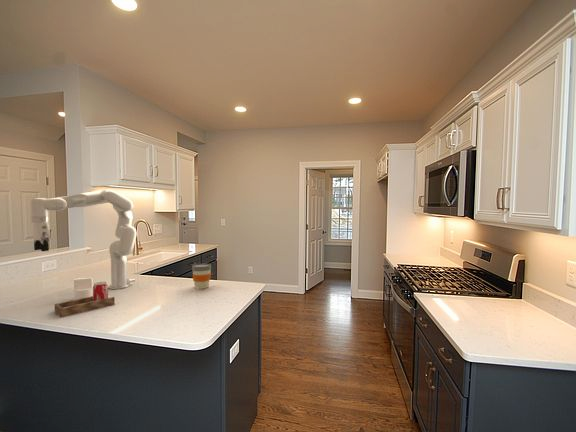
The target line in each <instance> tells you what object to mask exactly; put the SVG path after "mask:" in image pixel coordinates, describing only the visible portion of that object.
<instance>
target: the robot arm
mask: <svg viewBox="0 0 576 432" xmlns="http://www.w3.org/2000/svg"><path fill="white" fill-rule="evenodd" d="M101 204H103V205H104V204H111V206H112V208H113V210H114V211H115V212H116V213H117V215H118V220H117V224H116V229H115V233H114V235H115V237H116V238H118V239H119V240H115V241H113V242H111V243H110V245H109V250H108V251H109V255H110V277H111V278H110V281H111V283H110V285H108V290H120V289H125V288H127V287H130V286H131V283H134V282H136V279H135V278H128V258H127V256H129V255H130V254H132V252H133V251H134V248H135V244H136V239H137V229H136V228H135V226H132V224H133V212H132V210H133V208H134V203H133V201H132V200H131V199H130V198H128V197H126V196H124V195H122V194H121V193H119V192H118V191H115V190H113V189H103V190H101V189H100V190H95V191H89V192H88V191H87V192H82V193H77V194H71V195H65V196H57V197H51V198H46V197H34V198H31V199H30V219H31V224H32V237H33V247H34V249H33V250H34V251H39V250H40V251H41V252H49V249H50V248H49V247H50V246H49V243H50V242H49V241H50V240H51V229H50V211H53V212H61V211H64V210H65V209H71V208H87V207H92V206H96V205H101Z"/></svg>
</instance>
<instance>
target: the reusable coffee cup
mask: <svg viewBox="0 0 576 432" xmlns="http://www.w3.org/2000/svg"><path fill="white" fill-rule="evenodd" d="M191 266H192V268H191V271H192V280H193V283H194V288H195V289H196V288H198V289H197V290H204V289H207V287H208V288H209V286H210V280H211V275H212V273H211V270H212V264H210V263H196V264H193V265H191ZM203 288H204V289H203Z"/></svg>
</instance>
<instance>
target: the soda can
mask: <svg viewBox="0 0 576 432" xmlns="http://www.w3.org/2000/svg"><path fill="white" fill-rule="evenodd" d="M106 298H109V285H108V283H107V282H106V281H100V282H95V283H93V301H96V300H101V299H106Z"/></svg>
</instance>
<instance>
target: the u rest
mask: <svg viewBox="0 0 576 432" xmlns="http://www.w3.org/2000/svg"><path fill="white" fill-rule="evenodd" d="M115 301H116V299H115V296H110V297H108V298H106V299H101V300H96V301H93V296H91V297H86V298H81V299H76V300H74V299H72V300H67V301H62V302H57V303H54V312H55V313H56V315H58V316H59V317H60V318H62V317H63V318H64V317H67V316H70V315H71V316H72V315H75V314H80V313H83V312H88V311H93V310H96V309H101V308H104V307H109V306H114V305H115V304H116V303H115Z"/></svg>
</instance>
